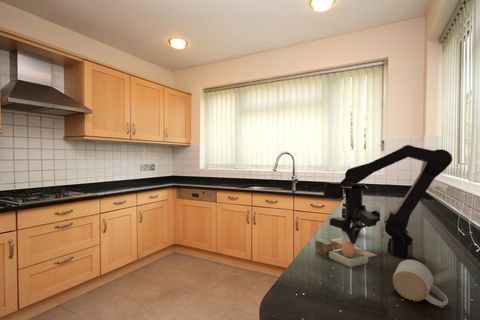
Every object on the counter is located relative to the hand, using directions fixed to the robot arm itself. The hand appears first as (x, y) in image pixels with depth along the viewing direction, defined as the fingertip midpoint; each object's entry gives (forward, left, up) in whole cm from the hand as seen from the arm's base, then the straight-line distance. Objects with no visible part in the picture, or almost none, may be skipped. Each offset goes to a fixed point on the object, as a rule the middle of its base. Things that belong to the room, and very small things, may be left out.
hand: (353, 243), depth 90 cm
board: (-3, +8, -2) cm, 9 cm away
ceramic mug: (-28, +12, -3) cm, 30 cm away
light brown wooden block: (0, +7, -1) cm, 7 cm away
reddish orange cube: (-8, +12, 0) cm, 14 cm away
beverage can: (+15, -16, -3) cm, 22 cm away
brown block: (0, +15, -1) cm, 15 cm away
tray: (-8, +12, -1) cm, 14 cm away
